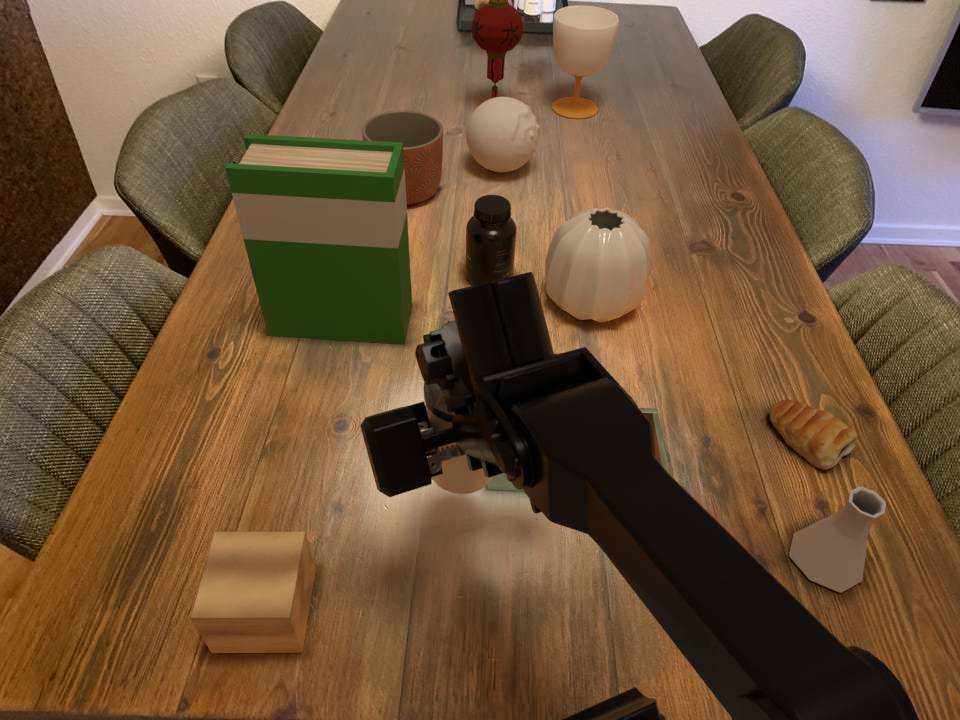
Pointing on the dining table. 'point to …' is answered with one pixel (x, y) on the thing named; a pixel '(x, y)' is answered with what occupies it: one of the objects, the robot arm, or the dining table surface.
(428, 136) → the planter
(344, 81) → the dining table surface
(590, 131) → the dining table surface
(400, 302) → the hardback book
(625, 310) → the vase
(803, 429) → the pastry
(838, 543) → the flask
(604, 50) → the cup
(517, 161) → the decorative ball
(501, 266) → the supplement bottle
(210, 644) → the riser
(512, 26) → the lantern
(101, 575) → the dining table surface
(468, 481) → the jar
